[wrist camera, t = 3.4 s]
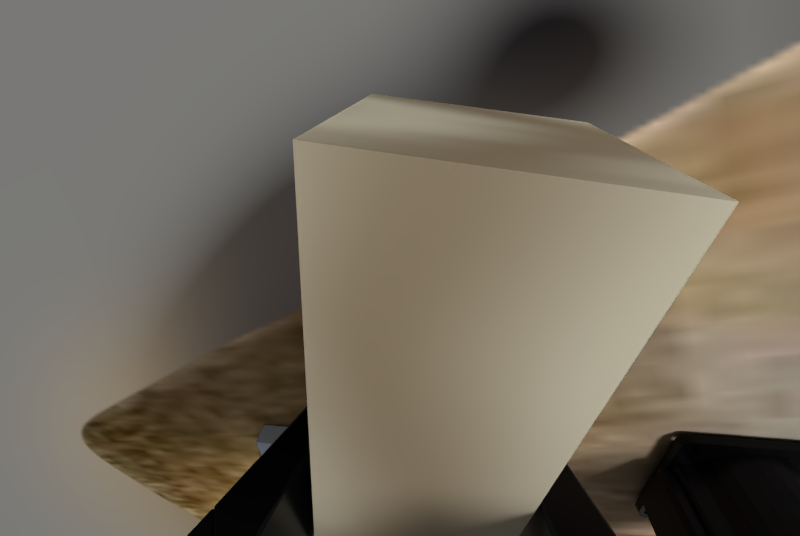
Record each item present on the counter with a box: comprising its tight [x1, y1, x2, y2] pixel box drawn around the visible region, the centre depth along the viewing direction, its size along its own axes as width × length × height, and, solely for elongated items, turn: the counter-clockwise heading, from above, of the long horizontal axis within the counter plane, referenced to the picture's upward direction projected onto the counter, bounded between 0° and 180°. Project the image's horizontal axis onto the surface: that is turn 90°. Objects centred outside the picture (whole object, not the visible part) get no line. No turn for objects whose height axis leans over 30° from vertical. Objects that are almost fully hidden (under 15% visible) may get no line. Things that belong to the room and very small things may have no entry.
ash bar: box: [293, 94, 738, 536], centre depth 9 cm, size 4×14×4 cm, turn 174°
